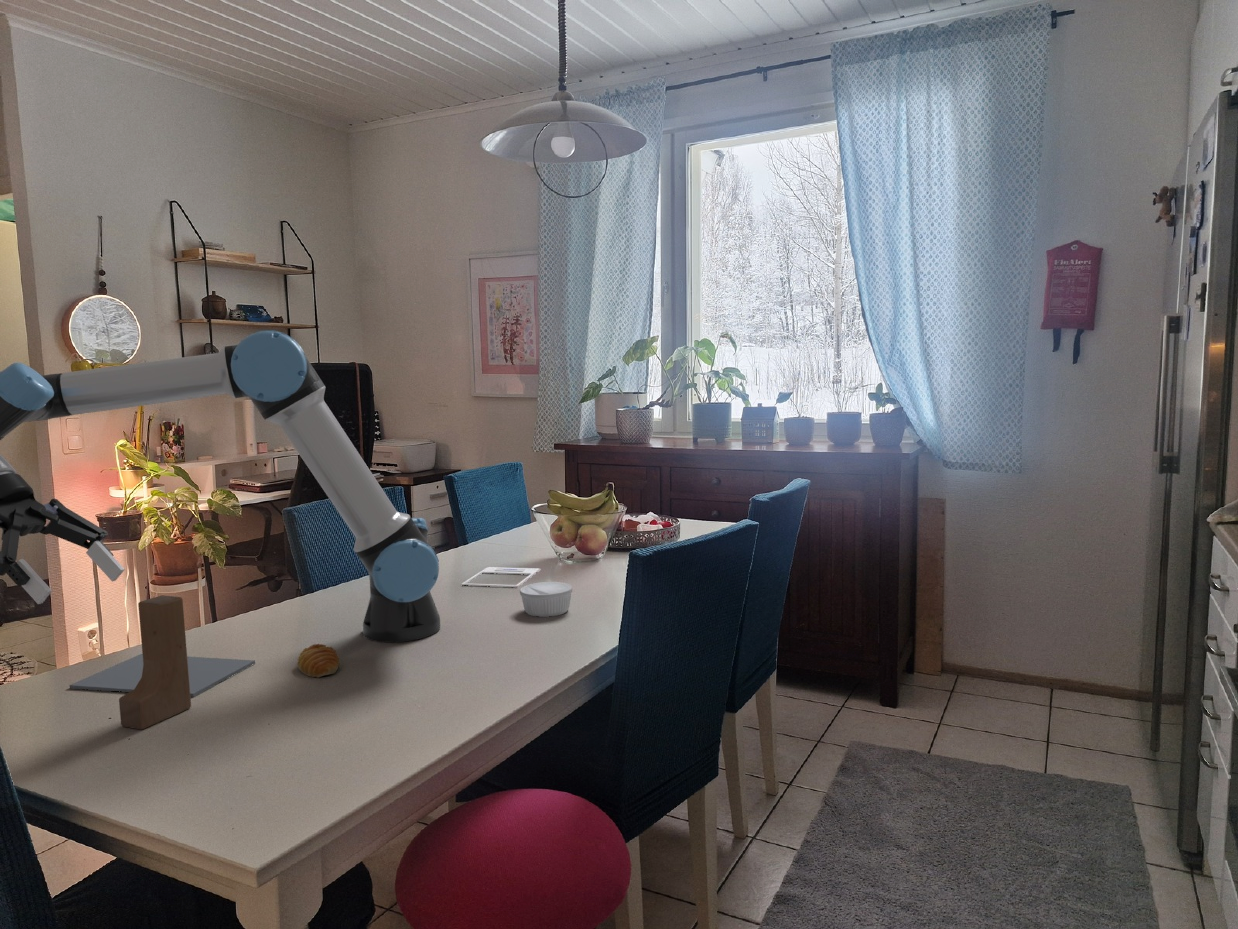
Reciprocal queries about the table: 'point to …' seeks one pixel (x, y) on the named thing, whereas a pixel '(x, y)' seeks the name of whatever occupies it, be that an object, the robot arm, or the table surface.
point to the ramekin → (546, 598)
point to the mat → (130, 671)
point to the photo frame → (504, 571)
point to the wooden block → (159, 665)
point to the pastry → (318, 660)
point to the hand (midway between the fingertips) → (84, 586)
